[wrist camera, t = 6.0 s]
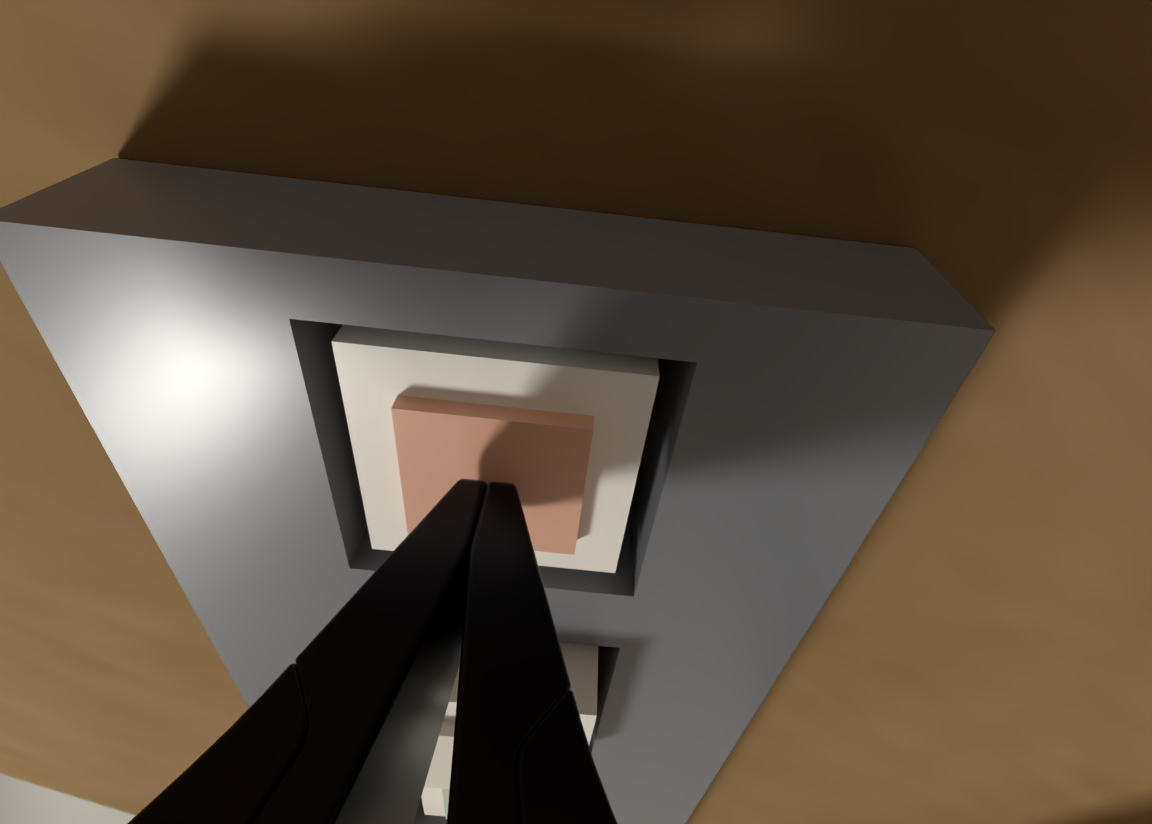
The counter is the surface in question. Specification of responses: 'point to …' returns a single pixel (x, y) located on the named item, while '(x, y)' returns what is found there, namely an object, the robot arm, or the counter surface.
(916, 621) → the counter surface
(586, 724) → the key ivory
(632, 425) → the key terracotta
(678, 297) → the gray key board
